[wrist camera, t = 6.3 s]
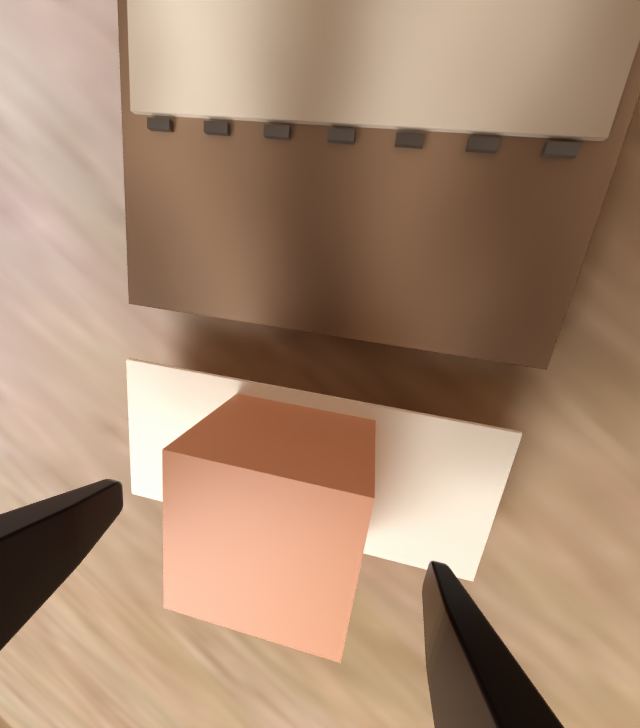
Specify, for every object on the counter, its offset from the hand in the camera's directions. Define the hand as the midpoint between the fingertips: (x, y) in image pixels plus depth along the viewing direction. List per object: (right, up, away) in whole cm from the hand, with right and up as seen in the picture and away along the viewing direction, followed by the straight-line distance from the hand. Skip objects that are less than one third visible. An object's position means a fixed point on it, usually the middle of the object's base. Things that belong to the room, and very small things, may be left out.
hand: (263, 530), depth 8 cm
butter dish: (+1, +1, +3) cm, 3 cm away
